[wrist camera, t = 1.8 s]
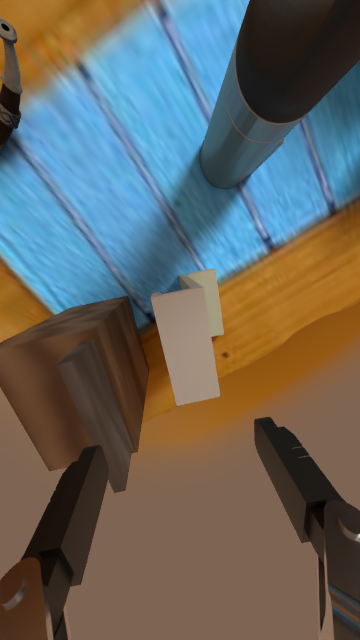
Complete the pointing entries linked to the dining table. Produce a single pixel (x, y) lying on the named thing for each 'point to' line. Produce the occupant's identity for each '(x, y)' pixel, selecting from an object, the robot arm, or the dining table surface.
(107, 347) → the cabinet
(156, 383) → the dining table surface
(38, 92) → the dining table surface
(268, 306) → the dining table surface
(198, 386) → the white angled bracket
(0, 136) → the drinking horn
